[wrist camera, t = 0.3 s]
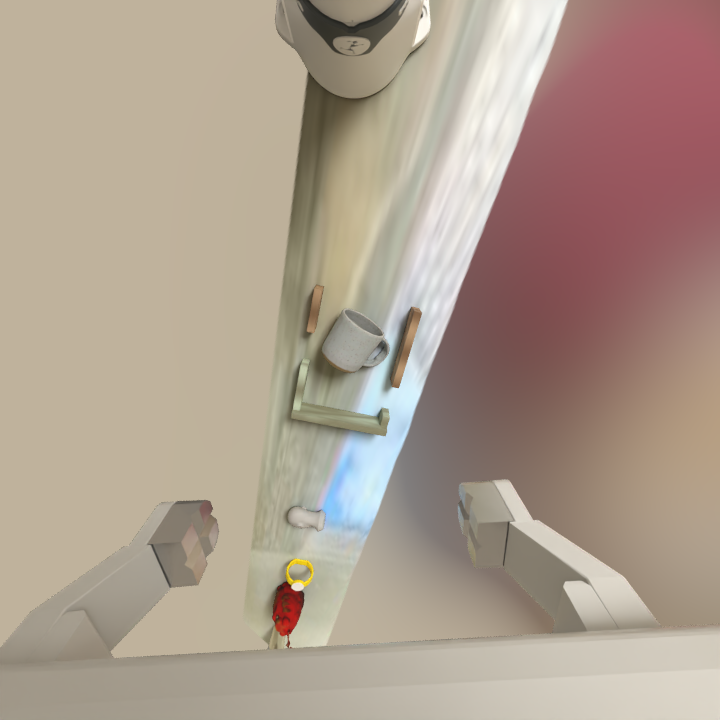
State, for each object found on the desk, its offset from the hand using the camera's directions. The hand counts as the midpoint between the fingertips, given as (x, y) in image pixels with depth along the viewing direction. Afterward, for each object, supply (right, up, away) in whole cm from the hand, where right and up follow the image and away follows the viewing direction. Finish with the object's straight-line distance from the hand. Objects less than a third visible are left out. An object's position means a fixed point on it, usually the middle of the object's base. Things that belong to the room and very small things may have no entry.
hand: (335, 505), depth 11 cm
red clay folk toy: (-16, -51, +70) cm, 88 cm away
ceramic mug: (+1, +9, +46) cm, 47 cm away
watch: (-13, -42, +67) cm, 80 cm away
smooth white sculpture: (-10, -28, +61) cm, 68 cm away
